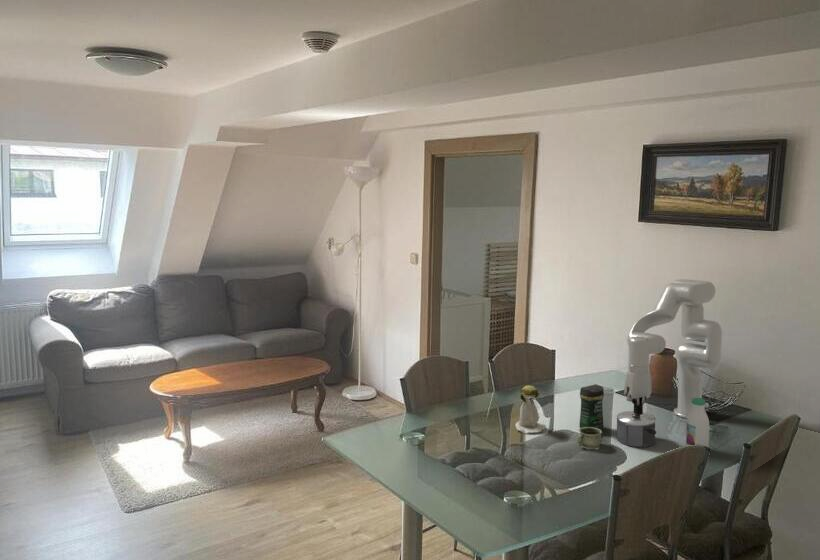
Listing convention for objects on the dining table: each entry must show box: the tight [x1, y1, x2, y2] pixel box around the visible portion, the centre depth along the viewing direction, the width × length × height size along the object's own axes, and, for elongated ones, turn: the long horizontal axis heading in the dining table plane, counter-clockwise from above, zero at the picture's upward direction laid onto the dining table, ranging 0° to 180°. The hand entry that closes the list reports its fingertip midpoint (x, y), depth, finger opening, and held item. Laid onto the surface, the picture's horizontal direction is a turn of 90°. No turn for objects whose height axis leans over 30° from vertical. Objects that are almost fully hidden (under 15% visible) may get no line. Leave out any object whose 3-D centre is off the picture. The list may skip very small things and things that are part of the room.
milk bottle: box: [685, 398, 710, 448], centre depth 234 cm, size 8×8×20 cm
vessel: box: [577, 427, 604, 450], centre depth 242 cm, size 12×9×6 cm
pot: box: [616, 419, 657, 448], centre depth 246 cm, size 15×20×8 cm
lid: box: [616, 410, 657, 426], centre depth 245 cm, size 15×14×2 cm
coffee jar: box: [578, 383, 605, 431], centre depth 259 cm, size 10×8×19 cm
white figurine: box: [515, 385, 547, 434], centre depth 262 cm, size 12×13×18 cm
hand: (638, 413), depth 245 cm, fingers closed
